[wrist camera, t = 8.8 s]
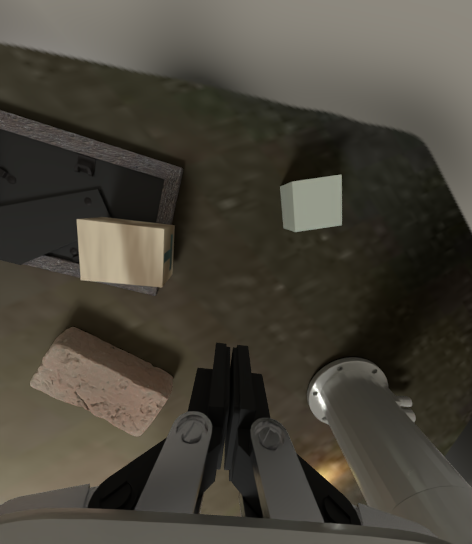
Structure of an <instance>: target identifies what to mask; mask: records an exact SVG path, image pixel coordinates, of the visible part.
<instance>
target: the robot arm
mask: <svg viewBox="0 0 472 544" xmlns="http://www.w3.org/2000/svg"><path fill="white" fill-rule="evenodd" d="M307 400H308V404H309V406H310V409H311V411H312V412H313V414H314V415H315V416H316V417H317V418H318V419H319V420H320V421H322V422H324V423H326V424H329V425H330V427H331V430H332V432H333V434H334V436H335V438H336V440H337V442H338V444H339V446H340V448H341V450H342V452H343V454H344V456H345V458H346V461H347V463H348V465H349V467H350V469H351V471H352V473H353V475H354V477H355V479H356V481H357V483H358V485H359V487H360V490H361V492H362V494H363V496H364V498H365V500H366V502H367V504H368V506H366V505H363V504H360V503H358V504H357V506H354V505H352V504H351V503H350V501H349V500H348V499H347V498H346V497H345V496H344V495H343V494H342V493H341V492H339V491H338V490H337V489H336V488H335V487H334V486H333V485H332V484H330V483H329V482H328V481H327V480H326V479H325V478H324V477H323V476H321V475H320V474H319V473H318V472H317V471H316V470H315V469H313V468H312V467H311V466H310V465H309V464H308V463H307V462H306V461H304V460H303V459H302V458H301V457H300V456H299V455H298V454H297V453H296V452H295V449H294V447H293V444H292V442H291V440H290V437H289V435H288V433H287V431H286V429H285V428H284V427H283V426H282V425H281V423H279V422H278V421H276V420H274V419H271V418H270V414H269V409H268V403H267V398H266V393H265V388H264V382H263V377H262V375H261V374H255V373H251V366H250V358H249V350H248V346H242V345H237V348H234V347H233V352H232V359H231V366H230V347H226V344H223V343H216V348H215V357H214V365H213V369H204V368H198V369H197V373H196V377H195V382H194V386H193V391H192V395H191V400H190V404H189V409H188V412H186V413H184V414H182V415H180V416H179V417H178V418H177V419H176V420H175V422H174V424H173V426H172V428H171V430H170V432H169V434H168V437H167V438H166V439H164V440H163V441H161V442H160V443H158V444H157V445H155V446H154V447H152V448H151V449H149V450H148V451H147V452H145V453H144V454H142V455H141V456H139V457H138V458H136V459H135V460H133V461H132V462H131V463H129V464H128V465H126V466H125V467H123V468H122V469H120V470H119V471H117V472H116V473H114V474H113V475H112V476H110V477H109V478H107V479H106V480H105V481H104V482H103V483H101V484H100V485H99V486H97V487H91V488H90V484H86V485H80V486H75V487H70V488H64V489H59V490H53V491H48V492H43V493H37V494H32V495H26V496H21V497H17V498H14V499H12V500H9V501H7V502H5V503H4V504H2V505H0V544H472V488H471V487H470V485H469V484H468V483H467V482H466V481H465V480H464V479H463V478H462V476H461V475H460V474H459V473H458V472H457V471H456V470H455V469H454V467H453V466H452V465H451V464H450V463H449V462H448V461H447V459H446V458H445V457H444V456H443V455H442V454H441V453H440V452H439V450H438V449H437V448H436V447H435V446H434V445H433V444H432V442H431V441H430V440H429V439H428V438H427V437H426V436H425V435H424V433H423V432H422V431H421V430H420V429H419V428H418V427H417V426H416V424H415V423H414V422H415V414H414V412H413V411H412V410H411V409H410V408H401V407H400V406H405V407H411V406H412V401H411V399H410V398H409V397H406V396H395V395H394V394H393V393H392V392H391V390H390V389H389V388H388V381H387V378H386V376H385V374H384V373H383V372H382V371H381V369H380V368H379V367H378V366H377V365H375V364H374V363H373V362H371V361H369V360H366V359H363V358H356V357H350V358H343V359H339V360H336V361H334V362H331V363H329V364H328V365H326V366H324V367H323V368H322V369H321V370H319V371H318V372H317V373H316V375H315V376H314V377H313V378H312V380H311V382H310V384H309V387H308V391H307ZM224 441H225V461H224V470H229V481H232V483H233V484H234V486H235V487H236V488H237V489H238V491H239V503H240V510H241V517H235V516H219V515H204V514H200V511H201V506H202V502H203V497H204V492H205V491H206V490H207V489H208V487H209V486H210V485H211V484H212V483H213V482H214V481H215V476H216V469H220V468H221V461H222V455H223V448H224Z"/></svg>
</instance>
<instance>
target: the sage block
mask: <svg viewBox="0 0 472 544" xmlns="http://www.w3.org/2000/svg"><path fill="white" fill-rule="evenodd" d="M280 190H281V203H282V216H283V228H285V229H288V230H291V231H294V232H298V231H305V230H312V229H319V228H325V227H332V226H339V225H342V174H341V175H334V176H328V177H321V178H314V179H307V180H300V181H293V182H290V183H288V184H285V185H283V186H280Z"/></svg>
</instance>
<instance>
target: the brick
mask: <svg viewBox="0 0 472 544" xmlns="http://www.w3.org/2000/svg"><path fill="white" fill-rule="evenodd" d="M42 360H43V361H42V363H41V366H40V367H39V368H38V370H37V372H36V373H35V374H34V375H33V378H32V380H31V381H30V386H32V387H33V388H35V389H37V390H41V391H42V392H44V393H46V394H49V395H50V396H51V397H54V398H56V399H60V400H62V401H64V402H67V403H70V404H73V405H76V406H80V407H84V408H85V409H86V410H88V411H91V412H92V414H94V415H95V416H97V417H100V418H105V419H106V420H107V421H109V422H110V423H112V424H113V425H114V426H117V427H118V428H119V429H122V430H124V431H126V432H127V433H129V434H131V435H133V436H140V435H142V434H143V432H144V431H145V430H146V429H147V428H148V427H149V425H150V424H151V423H152V421H153V420H154V419H155V417H156V416H157V414H158V413H159V411H160V410H161V409H162V407H163V406H164V404H165V403H166V401H167V399H168V398H169V396H170V394H171V391H172V384H173V377H172V376H171V375H170V374H168V373H167V372H165V371H164V370H162V369H160V368H158V367H153V366H152V364H151V363H149V362H145V361H144V360H142V359H140V358H138V357H136V356H134V355H132V354H130V353H127V352H126V351H124V350H121V349H119V348H117V347H115V346H113V345H111V344H109V343H107V342H104V341H102V340H101V339H99V338H97V337H95V336H93V335H91V334H89V333H87V332H84V331H82V330H80V329H78V328H76V327H71V328H69V329H66V330H65V331H64V332H63V333H62V334H60V335H59V336H58V337H57V338H56V340H55V341H54V343H53V345H52V346H51V348H50V349H49V351H48V352H47V353H46V355H45V356H44V357H43V359H42Z"/></svg>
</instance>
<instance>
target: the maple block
mask: <svg viewBox="0 0 472 544" xmlns="http://www.w3.org/2000/svg"><path fill="white" fill-rule="evenodd" d="M174 230H175V225H167V224H159V223H150V222H142V221H133V220H124V219H116V218H107V217H99V218H84V219H77V233H78V247H79V262H80V276H81V280H86V281H97V282H108V283H119V284H130V285H141V286H152V287H163V286H164V284H165V283H166V282H167V280H168V279H169V278H170V276H171V275H172V273H173V252H174Z"/></svg>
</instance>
